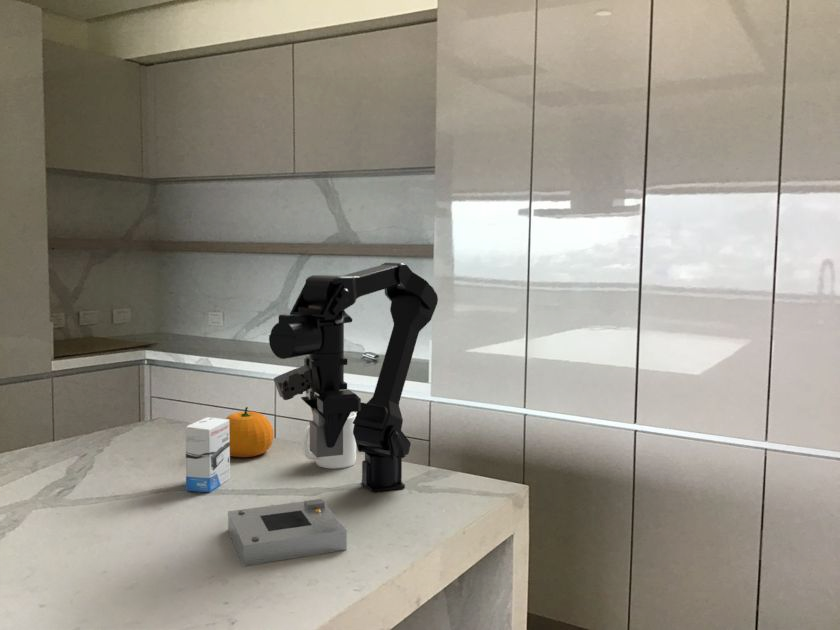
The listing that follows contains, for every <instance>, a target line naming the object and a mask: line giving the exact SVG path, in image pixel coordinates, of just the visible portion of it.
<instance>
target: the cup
mask: <svg viewBox="0 0 840 630" xmlns="http://www.w3.org/2000/svg"><path fill="white" fill-rule="evenodd" d="M356 415H357V412H351V413H350V415H349V417H348V419H347V421H346V422H345V424H344V426H343V455H336V456H327V457H316V456H315V455H314V454H313V453H312V452H311V453H310V450H309V448H308V442H309V441H308V440H309V437H310V424H309V425H308V426H306V428H304V429H305V430H304V431H303V434H302V439H301V450H302V453H303V456H305V457H306V459H308V460H311V461H312V460H313V461H315V464H316V465H317V466H318V467H320V468H323V469H332V470H333V469H334V470H337V469H345V468H349V467H351V466H353V465H354V464H356V458H357V445H356V441H355V437H354V435H353V428H354V424H353V421H354V420H355V417H356Z"/></svg>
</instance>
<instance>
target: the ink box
mask: <svg viewBox="0 0 840 630" xmlns="http://www.w3.org/2000/svg"><path fill="white" fill-rule="evenodd" d="M184 430H185V431H184V433H185V434H184V435H185V491H187V492H188V491H190V492H201V493H211V492H213V491H214V490H216V489H217V488H219V487H220V486H221V485H223V484H224V483H226V482H227V481H228V480H230V479H231V460H230V459H231V456H230V440H229V439H230V438H229V419H226V418H219V417H210V416H208V417H204V418H202V419H200V420H198V421H194V423H190V424H188V425H186V428H185V429H184Z"/></svg>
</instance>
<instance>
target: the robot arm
mask: <svg viewBox="0 0 840 630" xmlns="http://www.w3.org/2000/svg"><path fill="white" fill-rule="evenodd" d="M382 290H384V295H385V296H386V298H387V299H388V300H389V301H390V307H389V311H390V315H391V318H392V323H393V327H392V331H391V334H390V336H389V337H390V338H389V341H388V344H387V348H386V350H385V351H386V352H385V354H384V357H383V362H382V365H381V368H380V372H379V374H378V378H377V382H376V385H375V389H374V393H373V396H372V397H371V398H370V399H369V400H368V401H367V402H362V398H360V397H359V396H358V395H357V394H356V393H355V392H353V391H352V390H350V389H348V383H347V382H345V378H344V377H345V375H344V374H345V371H344V370H345V369H344V368H345V367H344V366H347V365H348V358H347V357H345V356H344V355H345V352H344V351H345V350H344V349H345V346H344V345H345V342H344V341H345V337H344V336H345V332H344V330H345V324H348V323H349V324H351V323H352V322H353V317H351V316H350V315H349V314H348V313H347V311H346V309H348V308H350V307H351V306H354V304H355V303H356V302H357V299H359V298H360V297H363V296H366V295H370V294H373V293H376V292H380V291H382ZM438 298H439V297H438V294H437V292H436V291H435V288H434V287H433V286H432V285H431V284H430V283H429V282H428V281H427V280H426V279H424V278H422V277H421V276H419V275H418V274H417V273H415V272H413V271H412V269H411V268H410V267H409V266H408V265H407V264H405V263H403V262H384V263H382V264H380V265H376V266H373V267H369V268H366V269H362V270H358V271H355V272H352V273H347V274H343V275H342V274H341V275H334V274H332V275H331V274H330V275H329V274H322V275H321V274H313V275H310V276H307V278H306V279H305V283H304V285H303V287H302V289H301V291H300V293H299V294H298V297H297V298H296V300H295V303H294V304H293V306H292V308H291V310H290V312H289V314H279V315H278V322H277V323H276V324H274V325H273V327H272V328H271V331H270V334H269V335H268V343H269V346H270V347H269V348H270V349H271V352H272V353H273V354H274V355H275V356H276V357H277V358H279V359H282V360H285V359H286V360H287V359H292V358H296V357H304V356H305V358H304V359H303V360H304V361H303V365H302V366H300V367H296V368H294V369H291V370H289V371H287V372H285V373H281V374H280V375H277V376H275V377H274V378H273V382H274V385H275V388H276V390H277V392H278V395H279V397H280V398H282V400H284V401H288V400H291V399H293V398H294V397H295V396H297V395H303V393H304V392H305V396H301V397H300V398H301V400H302V401H303V402H304V403H305V404H306V405H307V406H309V408H310V410H311V413H312V414H313V410H315V411H316V412H317V413H318V414H320V415H321V416H322V419H323V426H324V432H325V439H326V444H327V447H328V448H331V447H334V446H335V443H336V441H337V439H338V437H339V435H340V433H341V431H342V428H343V426H344V424H345V422H346V421H347V419H348V417H349V415H350V413H351V412H354V413H356V417H355V420H354V421H353V424H354V428H353V435H354V437H355V441H356V449H357V452H359V453H364V460H362V461H361V483H362V484H364V486H365V487H367V488H368V489H369V490H370V491H371V492H372V493H374V492H375V493H376V492H382V491H390V490H392V491H393V490H399V489H405V488H406V484H405V483H404V482H403V481H402V480H403V479H402V477H403V476H402V475H403V474H402V473H403V471H402V469H403V466H402V464H403V462H402V461H403V459H404V458H406V456H407V455H409V453H410V448H411V441H410V440H409V438H408V437H407V436H406V435H405V434H404V432H403V431H402V428H403V422H404V420H403V415H402V412H401V411H402V410H401V408H400V400H401V397H402V394H403V390H404V386H405V383H406V380H407V376H408V373H409V368H410V365H411V363H412V362H411V361H412V358H413V354H414V351H415V347H416V344H417V340H418V338H419V337H418V336H419V335H420V332H421V330H422V329H424V327H426V325H428V324H429V322H431V320H432V317H433V316H434V314H435V313H434V312H435V310H436V308H437V306H438V301H439V299H438Z"/></svg>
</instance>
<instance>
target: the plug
mask: <svg viewBox="0 0 840 630" xmlns="http://www.w3.org/2000/svg"><path fill="white" fill-rule="evenodd" d="M309 425H310V433H309V452H311V454H314V455H315V456H316V457H327V456H336V455H343V428H342V431H341V433H340V435H339V437H338V439H337V441H336V443H335V446H334V447H331V448H328V447H327V444H326V439H325V432H324V426H323V419H322V416H321V415H320V414H318V413H317V412H316V411H315V410H313V413H312V420H311V421H309Z"/></svg>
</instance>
